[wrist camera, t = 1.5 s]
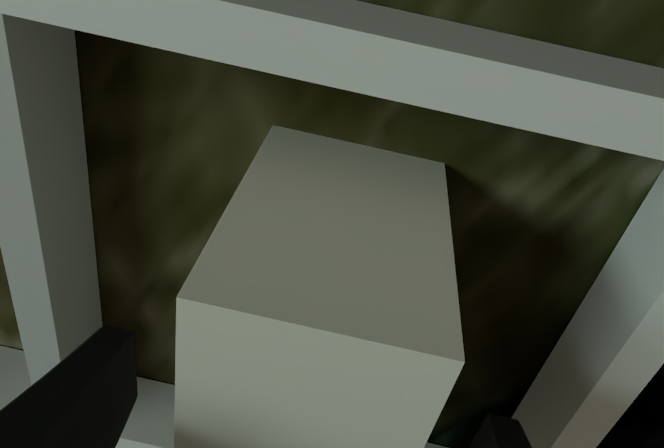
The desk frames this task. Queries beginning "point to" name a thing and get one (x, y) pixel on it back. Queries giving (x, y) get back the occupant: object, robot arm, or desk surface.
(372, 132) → the desk surface
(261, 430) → the cream rectangular block
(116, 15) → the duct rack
